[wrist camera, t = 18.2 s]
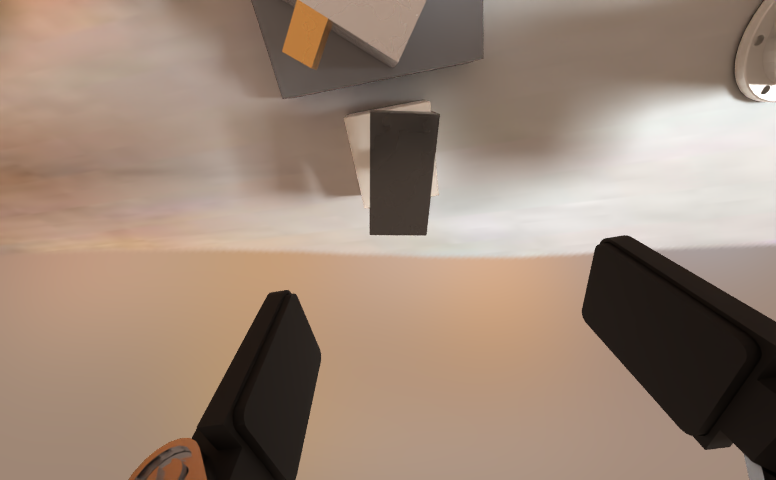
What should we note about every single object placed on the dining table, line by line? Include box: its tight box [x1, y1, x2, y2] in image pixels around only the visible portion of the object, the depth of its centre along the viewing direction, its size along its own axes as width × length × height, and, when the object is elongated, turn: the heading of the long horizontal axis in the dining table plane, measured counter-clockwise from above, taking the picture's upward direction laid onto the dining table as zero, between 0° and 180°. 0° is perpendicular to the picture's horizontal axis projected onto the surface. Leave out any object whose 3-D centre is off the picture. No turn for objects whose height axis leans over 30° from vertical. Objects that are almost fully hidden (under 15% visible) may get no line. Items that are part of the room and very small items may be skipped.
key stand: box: [344, 100, 439, 208], centre depth 29 cm, size 8×9×4 cm
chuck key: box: [370, 110, 440, 235], centre depth 25 cm, size 5×9×11 cm, turn 178°
